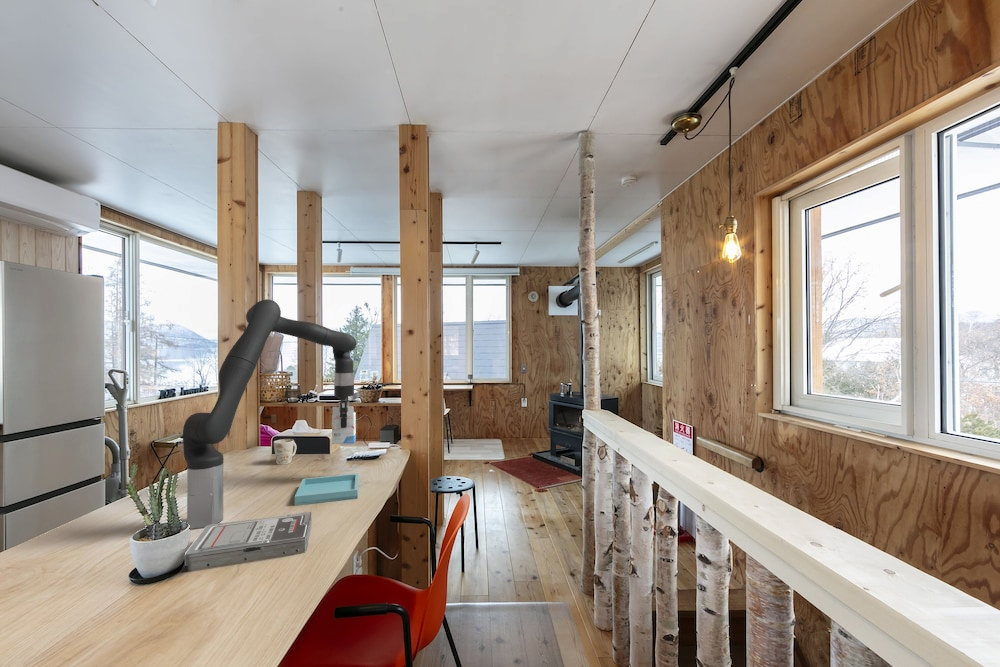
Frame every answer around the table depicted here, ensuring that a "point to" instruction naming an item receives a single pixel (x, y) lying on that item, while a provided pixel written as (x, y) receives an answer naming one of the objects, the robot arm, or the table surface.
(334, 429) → the ink box
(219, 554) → the hard drive
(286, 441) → the mug
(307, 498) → the tray
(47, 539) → the table surface
